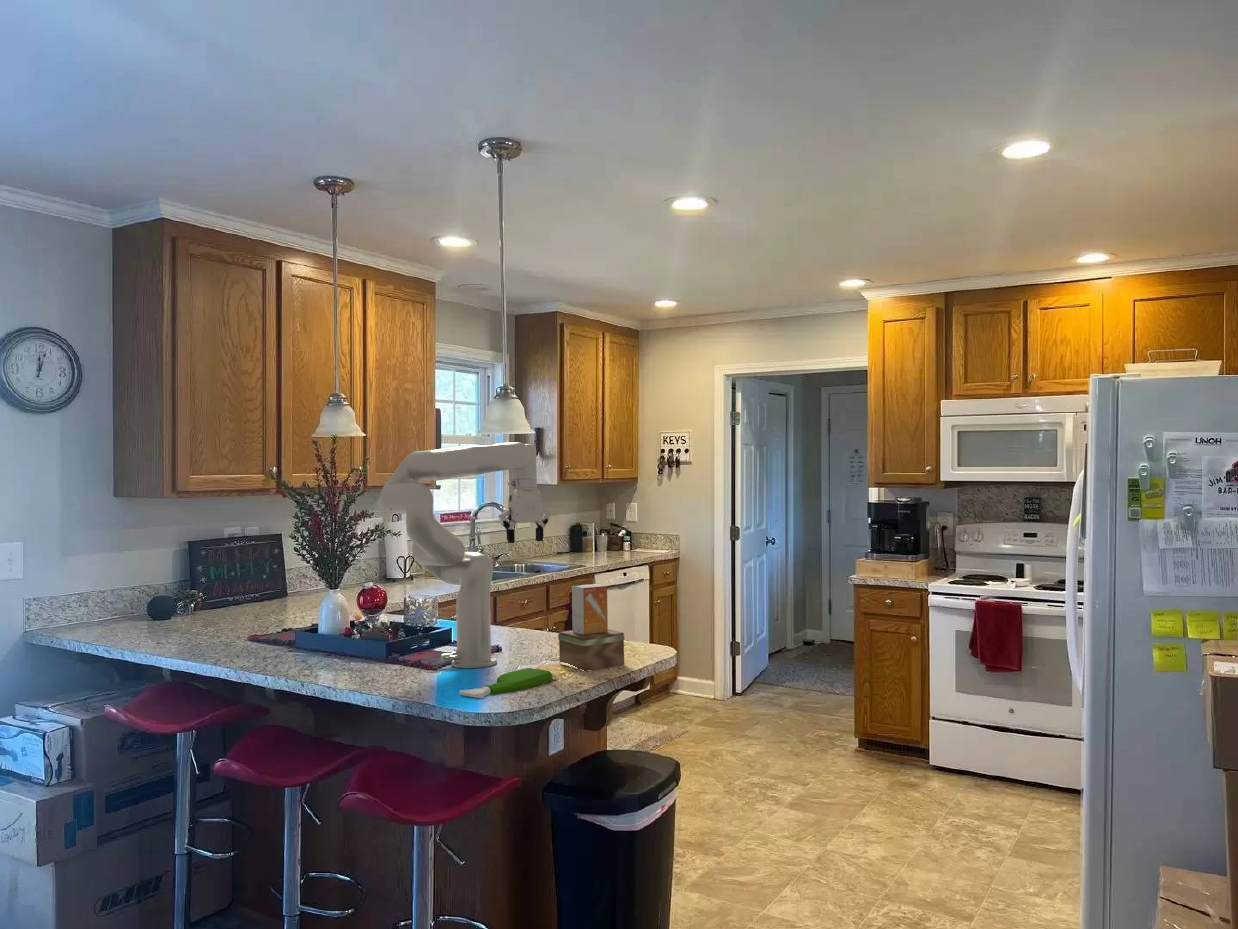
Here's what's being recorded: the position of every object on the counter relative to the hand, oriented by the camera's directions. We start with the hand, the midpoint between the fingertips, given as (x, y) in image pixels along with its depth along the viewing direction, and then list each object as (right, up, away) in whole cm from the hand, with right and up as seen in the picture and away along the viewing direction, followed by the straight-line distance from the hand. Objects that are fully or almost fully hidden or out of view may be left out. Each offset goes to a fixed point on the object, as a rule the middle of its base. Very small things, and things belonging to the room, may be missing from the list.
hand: (525, 541), depth 272 cm
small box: (+20, -24, -20) cm, 37 cm away
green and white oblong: (0, -33, -46) cm, 57 cm away
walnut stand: (+21, -33, -20) cm, 43 cm away
